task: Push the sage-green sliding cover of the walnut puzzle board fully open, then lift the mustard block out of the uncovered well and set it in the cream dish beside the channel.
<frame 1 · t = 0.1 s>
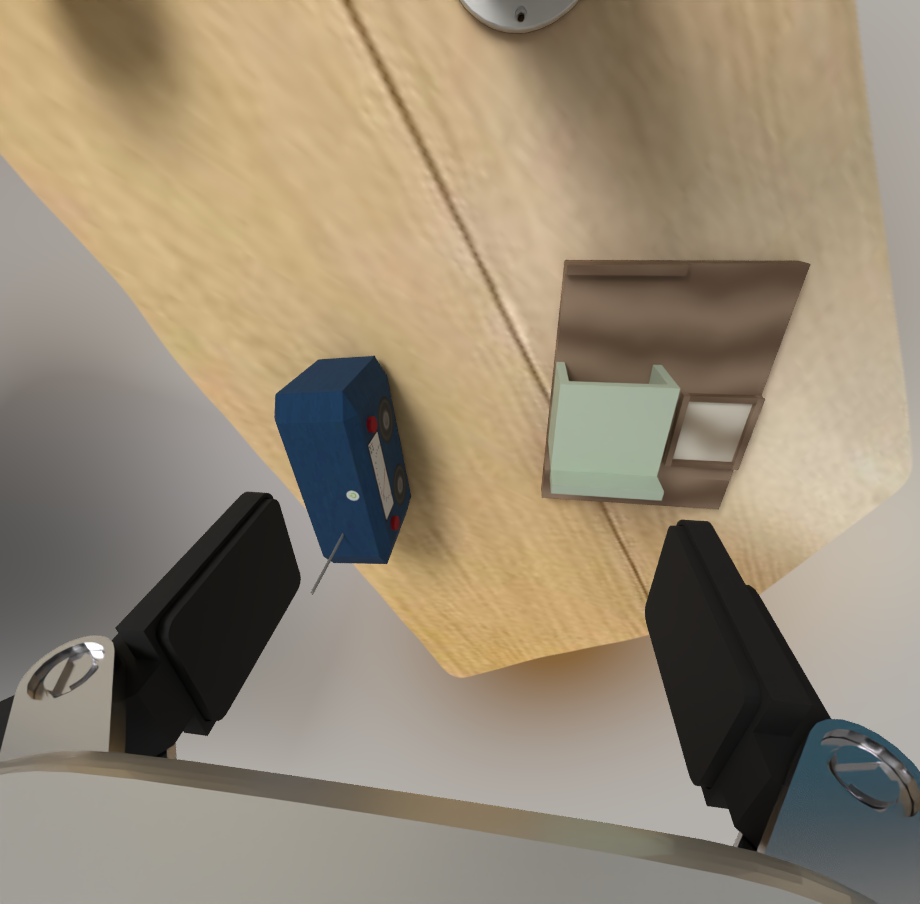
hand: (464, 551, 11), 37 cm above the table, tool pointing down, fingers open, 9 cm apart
puzzle board: (647, 393, 46), on the table
radio: (372, 435, 53), on the table
cover: (606, 428, 41), point 6 cm above the table, slide at 4.5 cm
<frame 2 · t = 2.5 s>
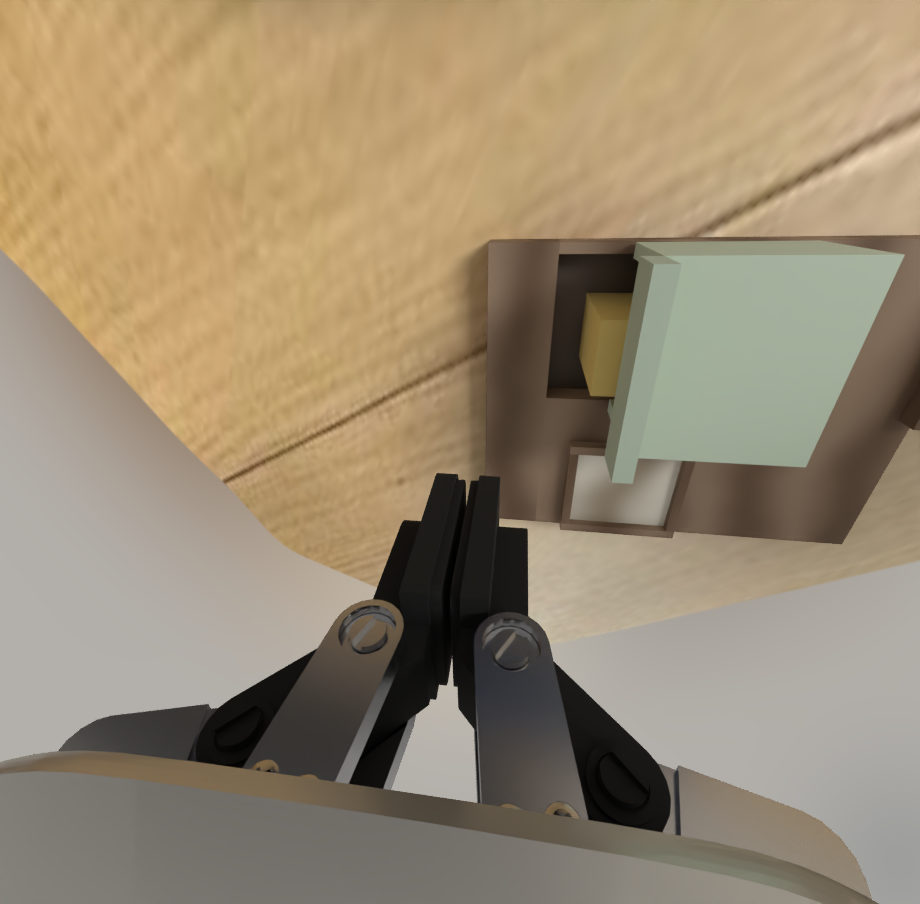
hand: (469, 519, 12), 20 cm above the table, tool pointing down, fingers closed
block: (614, 325, 28), resting on puzzle board
puzzle board: (677, 399, 30), on the table
cover: (717, 359, 22), point 7 cm above the table, slide at 4.5 cm
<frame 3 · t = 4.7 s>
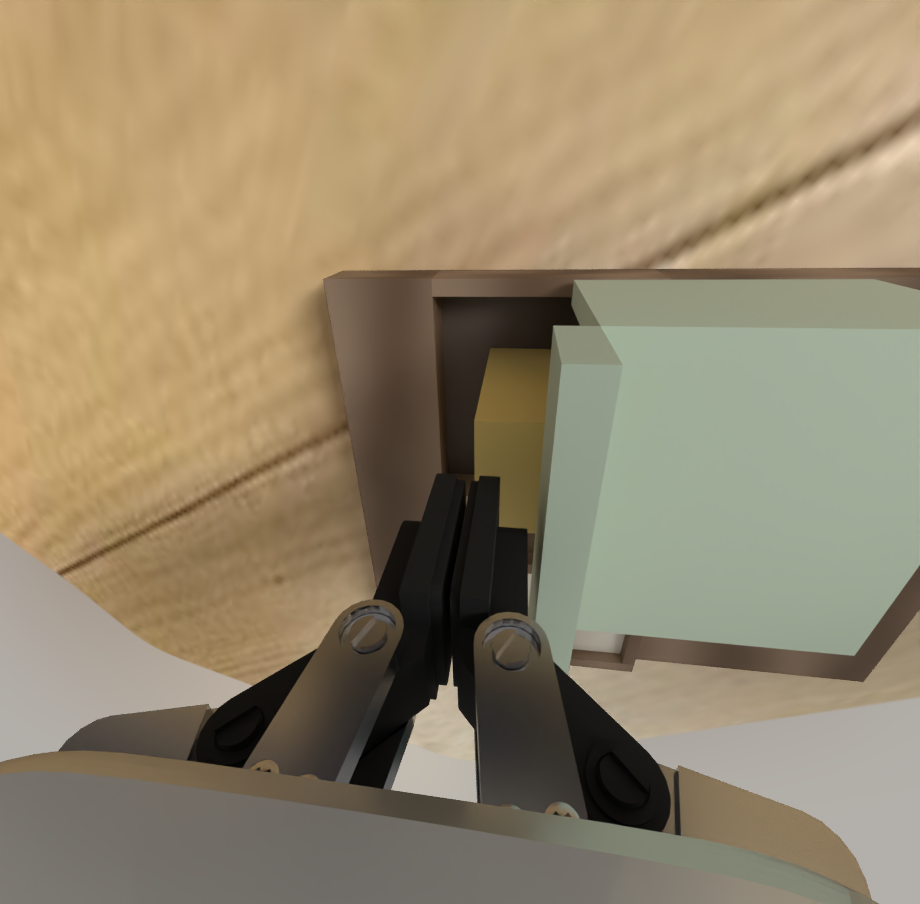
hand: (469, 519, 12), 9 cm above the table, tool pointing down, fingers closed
block: (535, 393, 19), resting on puzzle board
puzzle board: (633, 491, 21), on the table
cover: (706, 482, 13), point 6 cm above the table, slide at 5.4 cm, touching gripper
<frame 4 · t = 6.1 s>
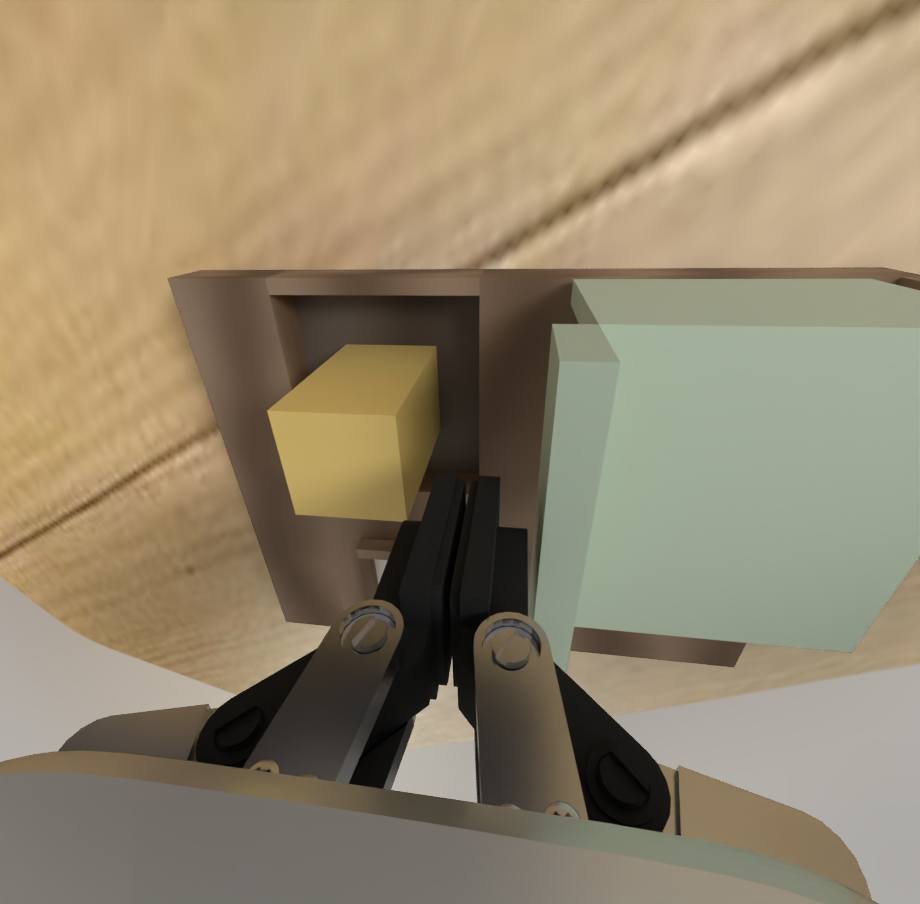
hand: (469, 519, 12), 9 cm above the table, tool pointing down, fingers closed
block: (395, 388, 20), resting on puzzle board
puzzle board: (502, 482, 22), on the table
cover: (704, 480, 13), point 6 cm above the table, slide at 11.7 cm, touching gripper
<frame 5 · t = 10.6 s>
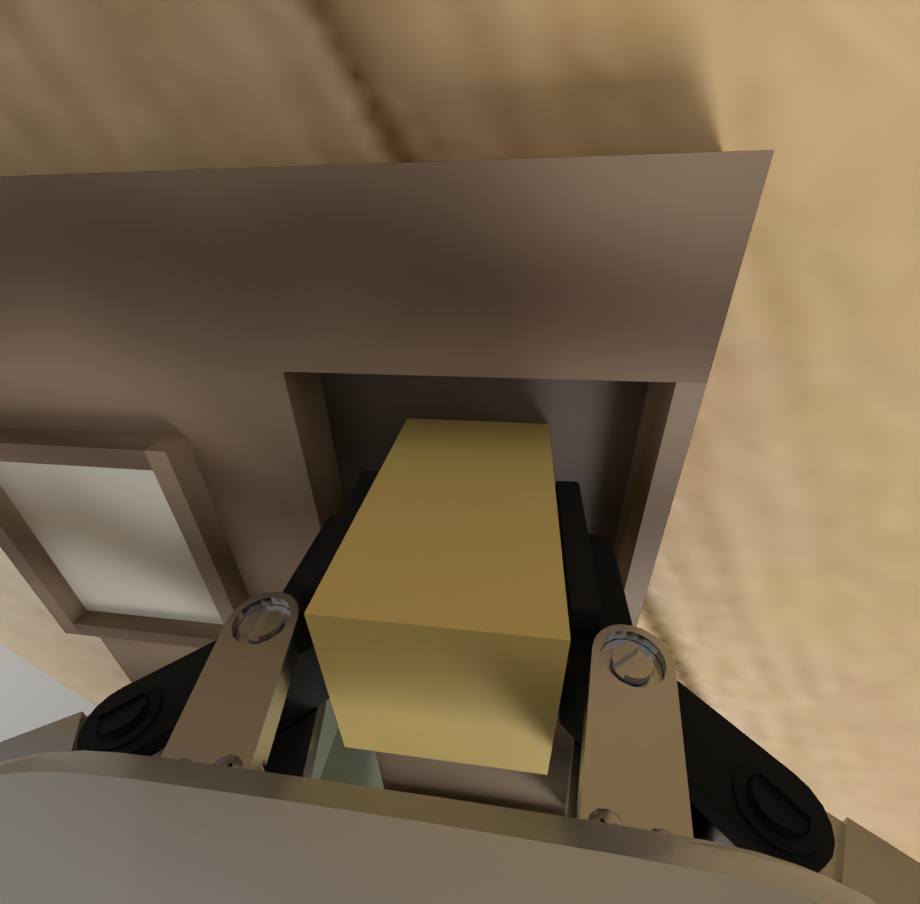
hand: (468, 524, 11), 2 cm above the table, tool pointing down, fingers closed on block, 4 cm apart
block: (476, 479, 13), resting on puzzle board, touching gripper
puzzle board: (347, 577, 17), on the table
cover: (457, 889, 14), point 7 cm above the table, slide at 11.9 cm
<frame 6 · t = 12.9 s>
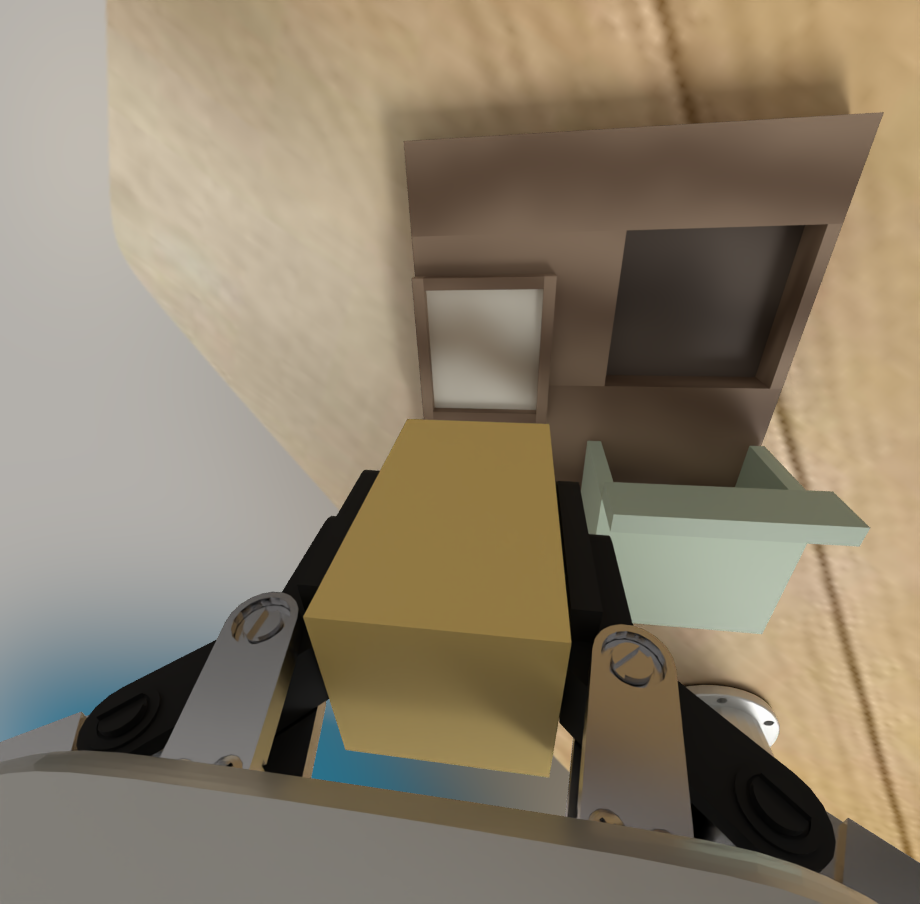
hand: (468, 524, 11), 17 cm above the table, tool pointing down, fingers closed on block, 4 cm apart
block: (477, 480, 13), point 15 cm above the table, touching gripper
puzzle board: (587, 388, 27), on the table
cover: (680, 542, 24), point 6 cm above the table, slide at 11.9 cm
when the fingers open (5 cm above the table, at t = 15.5 s): block drops 1 cm, resting on puzzle board.
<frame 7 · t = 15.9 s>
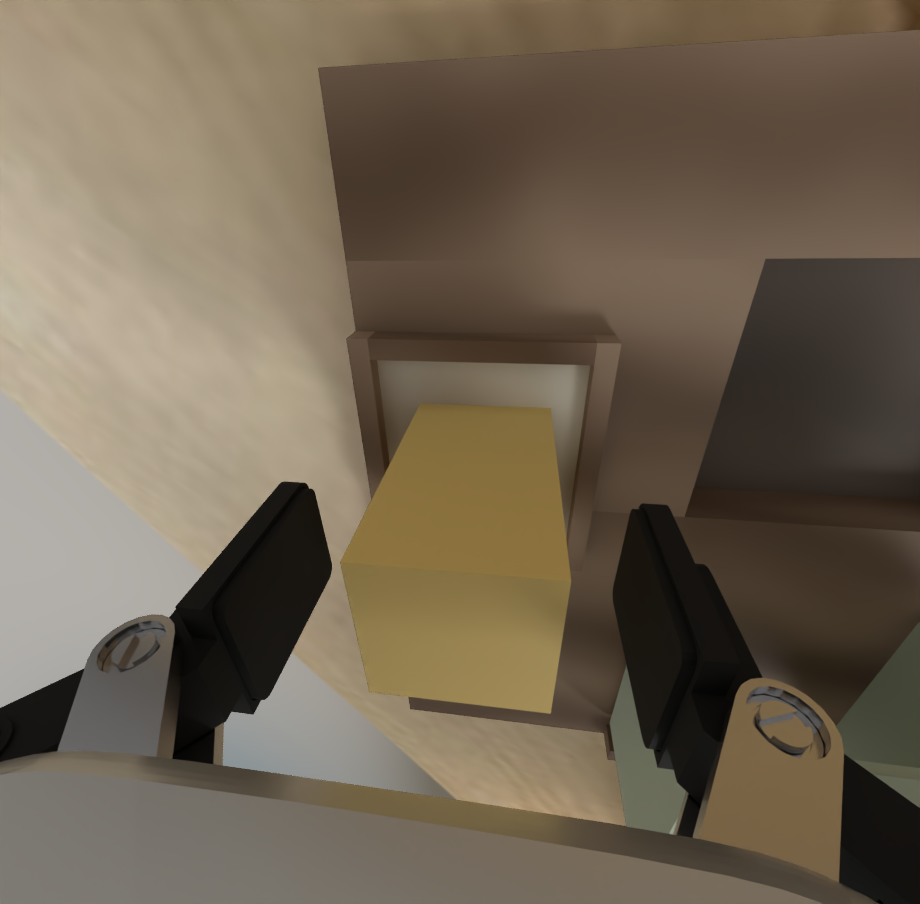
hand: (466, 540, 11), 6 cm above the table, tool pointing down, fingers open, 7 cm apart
block: (483, 461, 14), point 2 cm above the table, touching puzzle board
puzzle board: (645, 503, 17), on the table
cover: (814, 794, 14), point 6 cm above the table, slide at 11.9 cm
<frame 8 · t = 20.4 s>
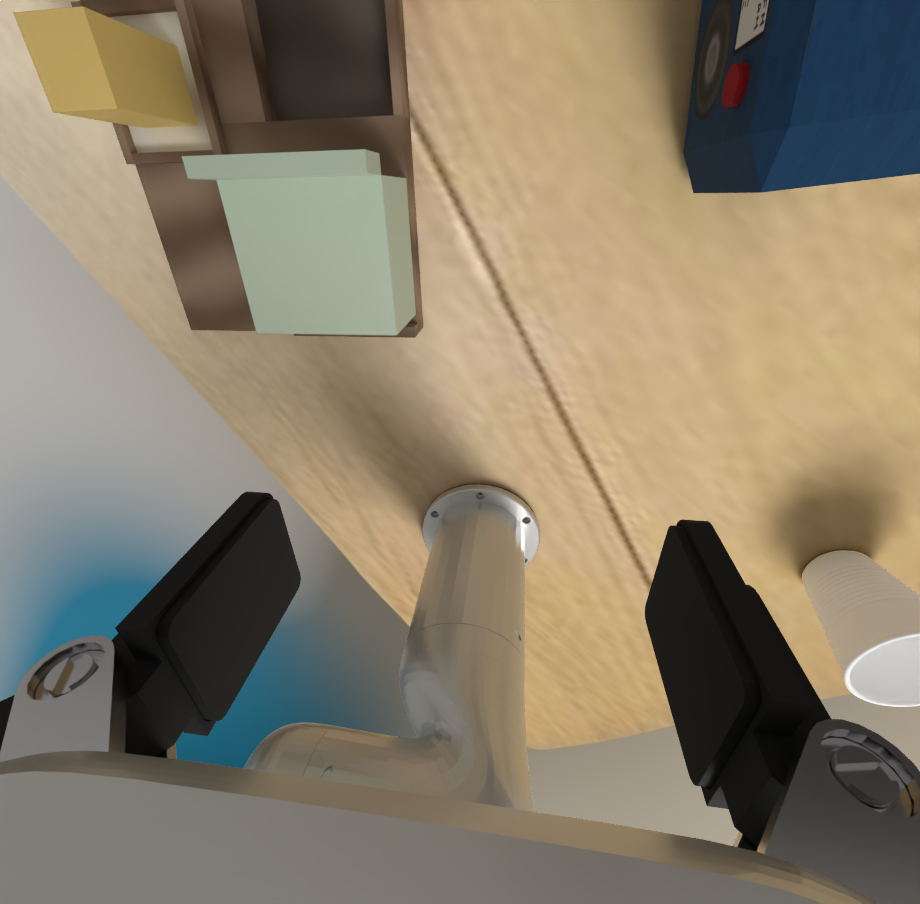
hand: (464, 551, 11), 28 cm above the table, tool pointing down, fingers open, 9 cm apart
block: (160, 89, 28), point 2 cm above the table, touching puzzle board
puzzle board: (275, 143, 31), on the table
cup: (832, 568, 44), on the table
cover: (321, 250, 28), point 6 cm above the table, slide at 11.9 cm
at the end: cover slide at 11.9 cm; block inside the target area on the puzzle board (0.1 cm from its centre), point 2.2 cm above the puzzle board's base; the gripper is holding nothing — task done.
